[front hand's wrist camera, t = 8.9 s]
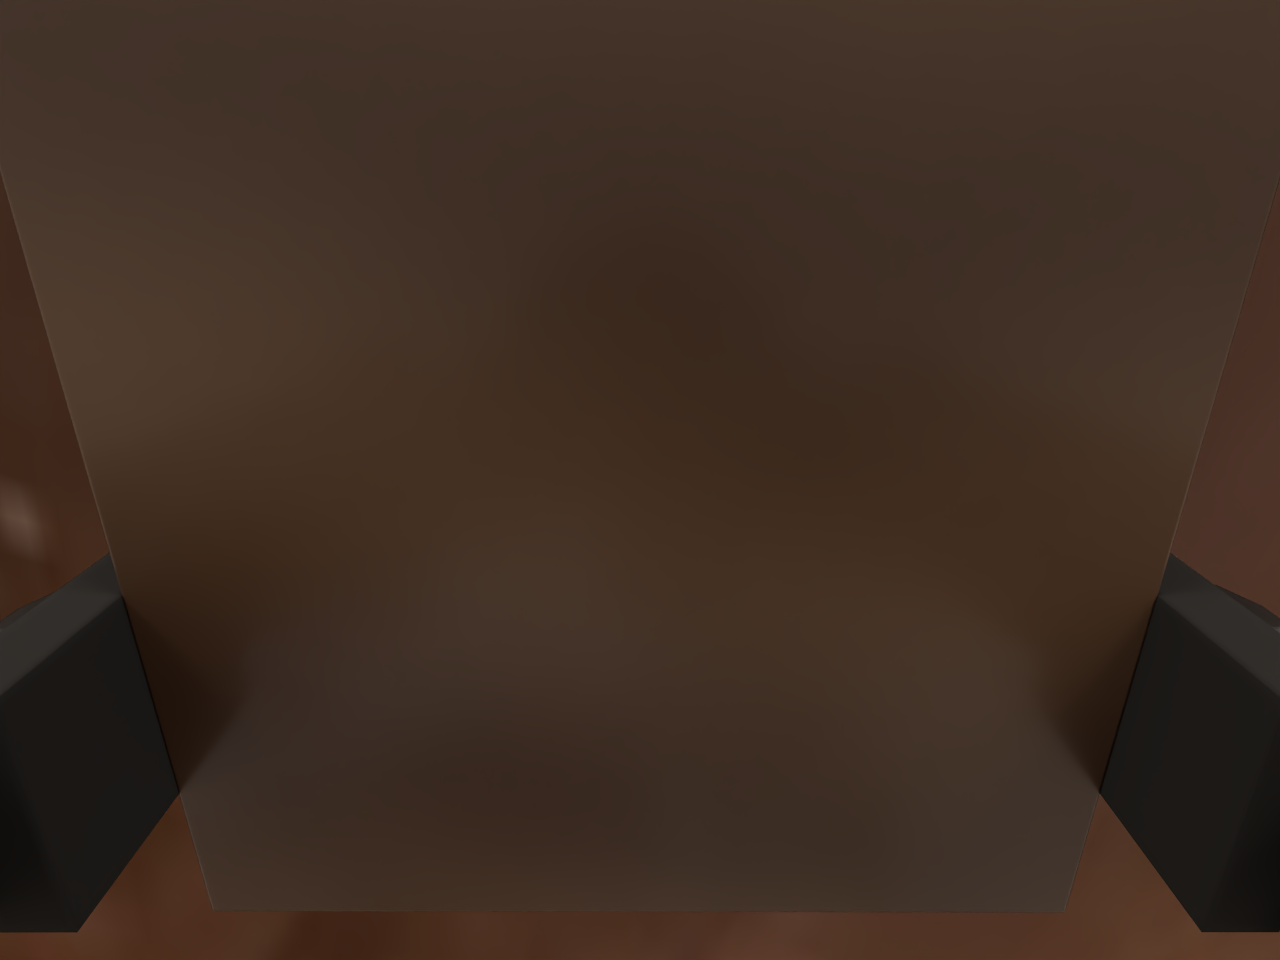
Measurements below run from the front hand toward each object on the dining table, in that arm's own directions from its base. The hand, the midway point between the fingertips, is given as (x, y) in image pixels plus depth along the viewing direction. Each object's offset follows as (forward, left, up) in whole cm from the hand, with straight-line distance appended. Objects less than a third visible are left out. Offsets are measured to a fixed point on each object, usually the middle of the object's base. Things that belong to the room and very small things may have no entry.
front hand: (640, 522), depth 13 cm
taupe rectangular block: (+4, -4, -5) cm, 8 cm away
